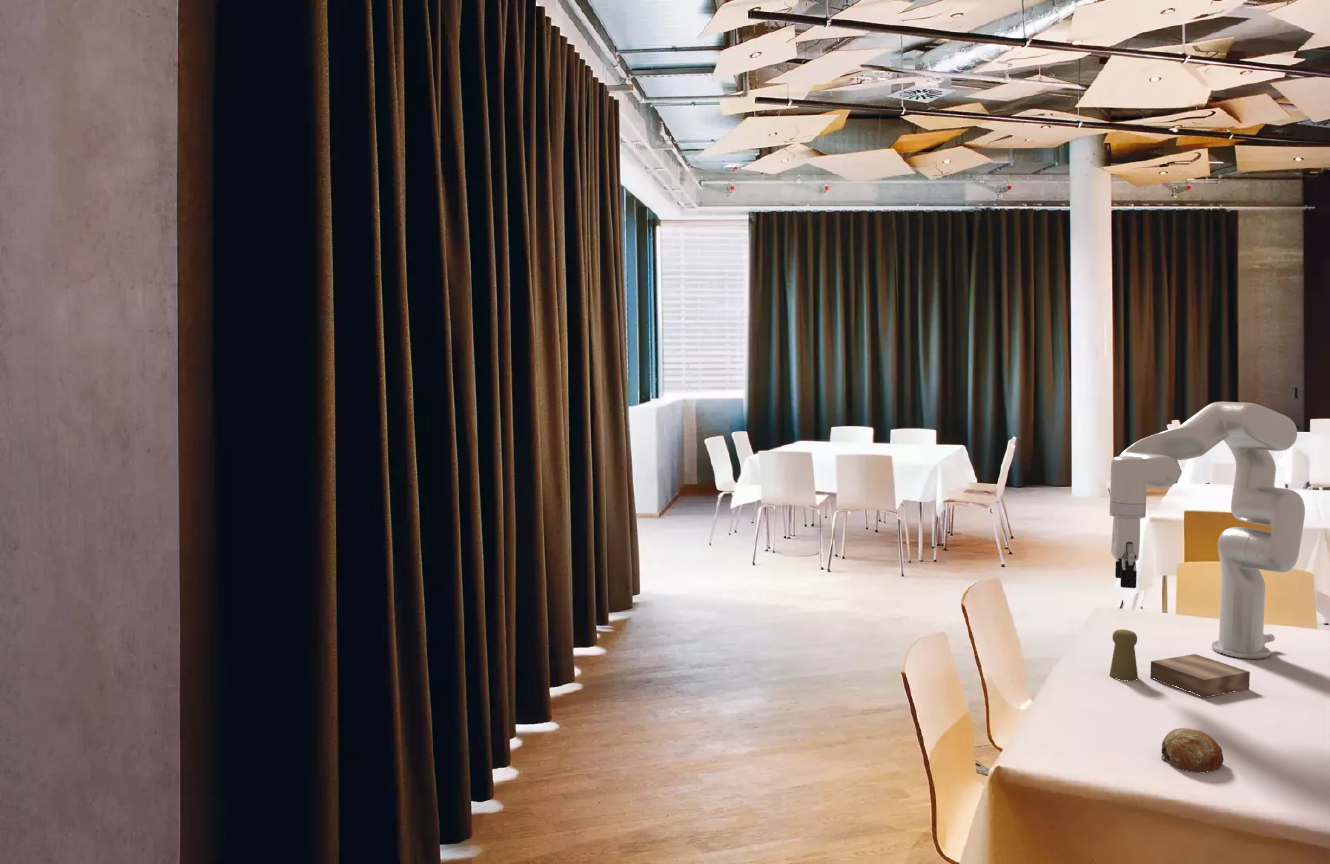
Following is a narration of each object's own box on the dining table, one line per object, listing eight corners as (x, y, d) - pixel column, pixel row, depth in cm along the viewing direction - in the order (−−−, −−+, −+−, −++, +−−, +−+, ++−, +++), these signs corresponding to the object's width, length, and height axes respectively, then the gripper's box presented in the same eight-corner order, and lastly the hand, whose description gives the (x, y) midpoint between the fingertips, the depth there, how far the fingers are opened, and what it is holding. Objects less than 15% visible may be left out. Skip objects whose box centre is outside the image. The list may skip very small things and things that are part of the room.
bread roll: (1158, 770, 182) (1142, 733, 181) (1205, 745, 182) (1189, 709, 181) (1191, 793, 172) (1174, 755, 171) (1241, 767, 172) (1224, 729, 171)
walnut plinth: (1194, 670, 227) (1195, 653, 227) (1249, 689, 214) (1249, 671, 214) (1150, 677, 222) (1150, 661, 222) (1203, 697, 209) (1204, 679, 209)
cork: (1132, 672, 226) (1133, 627, 225) (1142, 681, 220) (1143, 634, 219) (1105, 672, 226) (1106, 626, 226) (1114, 680, 220) (1116, 634, 220)
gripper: (1105, 503, 230) (1103, 573, 231) (1114, 514, 213) (1112, 590, 215) (1140, 504, 227) (1138, 575, 228) (1151, 516, 211) (1149, 592, 212)
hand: (1125, 582), depth 222 cm, fingers open, 9 cm apart
